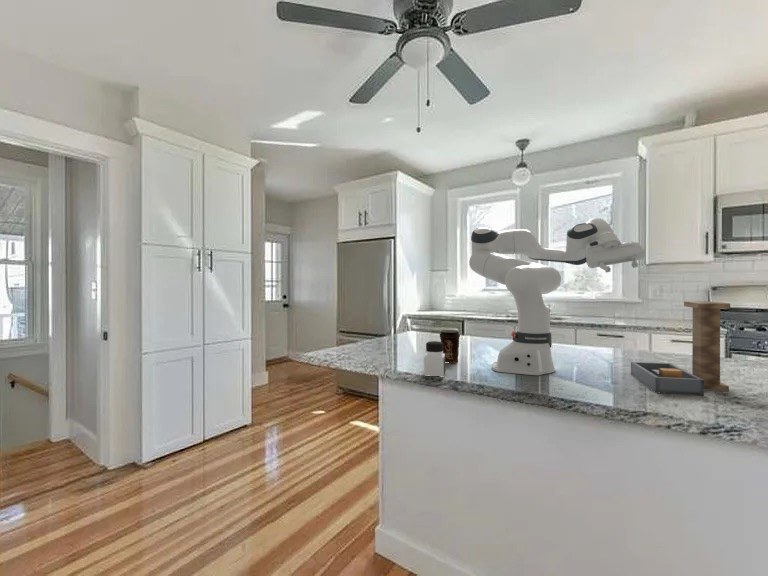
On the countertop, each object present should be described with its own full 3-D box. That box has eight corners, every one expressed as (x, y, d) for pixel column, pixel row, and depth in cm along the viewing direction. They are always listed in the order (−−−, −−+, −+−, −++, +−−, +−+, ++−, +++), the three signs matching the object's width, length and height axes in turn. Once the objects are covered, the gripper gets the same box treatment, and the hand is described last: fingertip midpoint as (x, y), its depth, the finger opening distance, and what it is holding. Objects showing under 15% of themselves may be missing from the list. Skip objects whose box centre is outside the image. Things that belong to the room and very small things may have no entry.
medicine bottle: (444, 377, 137) (443, 343, 137) (424, 376, 138) (423, 343, 138) (445, 372, 144) (444, 340, 144) (426, 372, 145) (425, 339, 145)
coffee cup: (439, 359, 166) (439, 329, 166) (459, 359, 165) (459, 329, 165) (440, 364, 158) (439, 332, 157) (461, 364, 157) (460, 332, 156)
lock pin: (662, 386, 118) (662, 370, 118) (646, 374, 133) (646, 360, 133) (682, 387, 117) (682, 371, 117) (663, 375, 131) (663, 360, 131)
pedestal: (697, 389, 117) (698, 303, 117) (683, 382, 126) (684, 301, 125) (729, 391, 115) (730, 303, 114) (713, 383, 124) (713, 301, 123)
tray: (655, 392, 115) (655, 377, 115) (630, 374, 136) (630, 361, 136) (703, 395, 112) (704, 379, 112) (670, 376, 133) (670, 363, 133)
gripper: (635, 247, 158) (651, 269, 148) (581, 257, 163) (593, 279, 153) (637, 234, 154) (653, 257, 144) (582, 245, 158) (594, 267, 149)
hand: (622, 268), depth 148 cm, fingers open, 8 cm apart
